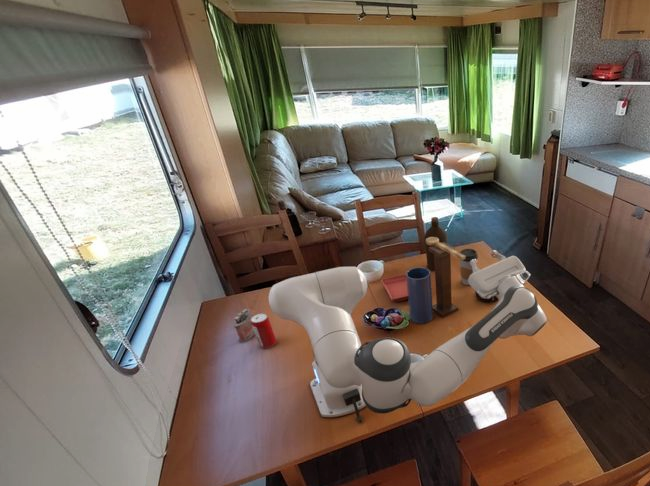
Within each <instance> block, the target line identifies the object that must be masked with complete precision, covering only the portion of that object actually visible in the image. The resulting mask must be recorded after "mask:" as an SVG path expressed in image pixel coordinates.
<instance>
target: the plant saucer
mask: <svg viewBox="0 0 650 486" xmlns="http://www.w3.org/2000/svg"><path fill="white" fill-rule="evenodd" d="M381 283H382V285H383V286H384V289H385V290H386V292H387V294H388V296H389V298H390V299H391V300H392V301H393V302H396V303H398V302H401V301H402V302H403V301H406V300H408V292H407V282H406V273H404V274H399V275H394V276H390V277H386V278H382V279H381ZM432 290H433V288H432V287H431V291H432Z"/></svg>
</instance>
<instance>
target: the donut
mask: <svg viewBox="0 0 650 486" xmlns="http://www.w3.org/2000/svg"><path fill="white" fill-rule="evenodd" d="M474 292H475V296H476V298H477V299H479V300H480V301H482V302H486V303H487V302H488V303H492V302H496V301H499V299H498V298H497V297H496V295H495V296H493V297H491V298H490V299H484V298H481V297H480V296H479V294H478V293H477V292H476V291H475V290H474Z"/></svg>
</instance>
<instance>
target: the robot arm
mask: <svg viewBox="0 0 650 486" xmlns="http://www.w3.org/2000/svg"><path fill="white" fill-rule="evenodd" d="M490 255H491V256H492V258H493V259H494V258H496V259H497V260H499V261H497V262H494V263H492V264H490V265H488V266H486V267H483V268H480V267H478V260H477V261H476V259H473V260H471V261H470V264H471V266H472V269H473V273H472V274H471V275H470V276H469V278H468V283H469V285H468V286H469V287H471V288H472V289H473V290H474V292H475V291H476V292H477V293H478V294H479V296H480V297H481V298H484V299H490V298H491V297H493V296H495V295H496V297H497V298H498V302H496V304H495V305H494V306H493V308H492V309H491V310H490V311H489V313H487V315H485V316H484V317H483V318H481V319H480V320H479V321H477V322H476V323H475V324H473V325H472V326H470V327H469V328H467V329H465V330H464V331H462V332H460V333H459V334H457V335H456V336H454V337H452V338H451V339H449V340H447V341H446V342H444V343H442V344H441V345H440V346H438V347H436V348H435V349H434V350H432V351H431V352H430V353H428V354H427V355H426V356H425V357H424V358H423V359H420V360H417V361H415V362H412V361H411V354H410V350H409V348H408V346H407V345H406V343H404V342H403V341H402V340H400V339H398V338H395V337H380V338H376V339H373V340H372V341H366V342H364V343H362V342H361V339H360V336H359V333H358V331H357V328H356V325H355V323H354V319H353V317H352V313H353V311H354V309H355V307H356V306H357V305H358V304H359V303H360V301H362V300H363V299H364V297H366V294H367V291H368V279H367V277H366V275H365V273H364V272H363V271H362V270H361V269H360V268H358V267H357V266H337V267H333V268H328V269H324V270H318V271H315V272H312V273H306V274H302V275H297V276H292V277H289V278H287V279H284V280H282V281H280V282H277V283H275V284H273V285H272V286H271V288H270V290H269V291H268V292H269V293H268V299H267V300H268V305H269V307H270V309H271V311H272V313H274V314H275V315H276V316H277V317H278V318H280V319H283V320H287V321H292V322H294V323H296V324H298V325H299V326H301V327H302V328H303V329H304V330H305V331H306V333H307V335H308V338H309V341H310V344H311V347H312V354H313V358H314V360H313V361H312V363H311V366H312V369H313V373H314V377H315V378H314V379H312V380H311V381H310V383H309V385H310V389H311V392H312V395H313V398H314V400H315V403H316V406H317V408H318V410H319V413H320V414H319V415H320V416H321V417H324V418H338V417H341V416H342V417H343V416H346V415H350V414H352V413H354V412H355V414H356V418H357V420H358V422H359V423H362V422H363V420H362V418H361V414H360V412H359V410H362V409H363V408H365V407H366V408H367V409H368V410H369V411H371V412H372V413H375V414H382V415H383V414H389V413H391V412H394V411H396V410H399V409H402V408H405V407H407V406H409V405H410V403H411V401H414V403H416V404H417V405H419V406H422V407H431V406H434V405H435V404H437V403H439V402H441V401H443V400H444V399H445V398H447V397H448V396H450V395H452V394H453V393H454V392H455V391H456V390H457V389H459V388H460V387H461V386H462V385H463V384H464V383H465V382H466V381H467V380H468V378H470V376H471V375H472V374H473V373H474V372H475V370H476V369H477V367H478V365H479V364H480V362H481V361H482V360H483V358H484V357H485V355H486V354H487V353H488V351H489V350H490V349H491V347H492V346H493V344H494V343H495V342H496V341H497V340H498V339H503V340H505V339H508V338H510V337H511V338H512V337H514V336H527V337H533V336H535V335H536V334H537V333H538V332H539V331H540V330H541V329H542V328H544V326H546V324H547V321H548V318H547V315H546V314H545V312H544V310H543V308H542V307H541V306H540V304H539V303H538V300H537V297H536V295H535V293H534V292H533V291H532V290H531V289H529V288H528V287H526V286H524V285H526V282H527V281H528V280H529V279H530V278H531V273H530V272H529V271H528V270H526V267H525V265H524V263H522V261H521V260H520V258H518V257H517V256H516V255H510V256H508V257H506V256H505V255H504V254H501V253H499V252H498V250H497V249H494V250H493V251H491V253H490ZM476 265H477V266H476Z"/></svg>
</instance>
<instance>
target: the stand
mask: <svg viewBox="0 0 650 486" xmlns="http://www.w3.org/2000/svg"><path fill="white" fill-rule="evenodd" d="M442 244H444V245H446V246H448V247H450V248H451V249H453V250H455V251H456V247H453V245H450V244H448V243H447V244H446V243H444V242H442ZM429 251H430V252H432V253H433V254H434V264H435V271H434V281H435V282H434V283H435V298H436V299H435V300H436V302H435V304H432V308H433V313H435V314H437V315H438V316H439V317H441V318H445V317H448V316H449V315H451V314H453V313H455V312H457V311H459V307H458V306H457V305H455V304H454V303H452V302H453V301H452V300H453V299H452V269H451V268H452V265H451V261H452V260H451V254H450V253H448V252H446V251H444V250H442V249H441V248H439V247H437V246H435V245H434V246H431V247H429Z"/></svg>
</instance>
